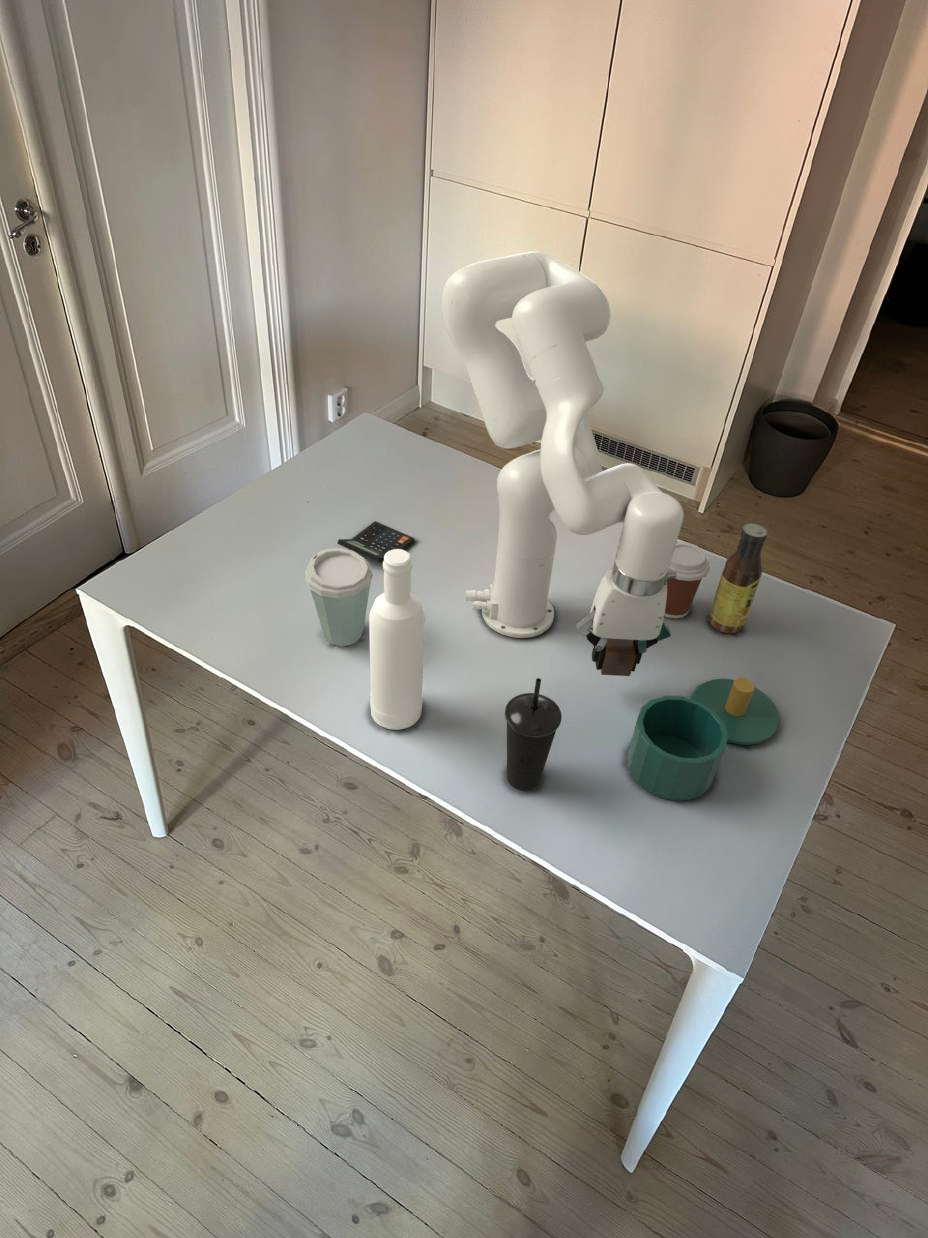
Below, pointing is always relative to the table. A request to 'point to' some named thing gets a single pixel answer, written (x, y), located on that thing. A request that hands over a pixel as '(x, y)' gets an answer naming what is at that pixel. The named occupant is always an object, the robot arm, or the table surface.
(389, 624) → the bottle
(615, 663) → the block
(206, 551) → the table surface
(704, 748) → the tin
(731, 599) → the sauce bottle
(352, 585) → the disposable coffee cup
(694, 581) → the coffee cup
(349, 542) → the calculator
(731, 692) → the tin lid
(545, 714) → the drinking cup
